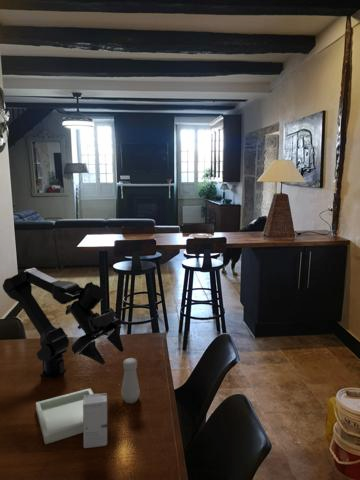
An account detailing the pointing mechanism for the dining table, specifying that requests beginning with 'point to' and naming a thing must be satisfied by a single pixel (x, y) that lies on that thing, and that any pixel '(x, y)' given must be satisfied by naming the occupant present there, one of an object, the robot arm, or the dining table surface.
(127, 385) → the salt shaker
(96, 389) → the dining table surface
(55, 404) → the tray
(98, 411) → the skincare box
